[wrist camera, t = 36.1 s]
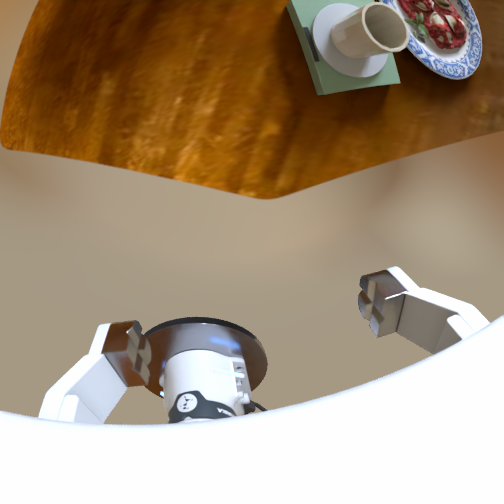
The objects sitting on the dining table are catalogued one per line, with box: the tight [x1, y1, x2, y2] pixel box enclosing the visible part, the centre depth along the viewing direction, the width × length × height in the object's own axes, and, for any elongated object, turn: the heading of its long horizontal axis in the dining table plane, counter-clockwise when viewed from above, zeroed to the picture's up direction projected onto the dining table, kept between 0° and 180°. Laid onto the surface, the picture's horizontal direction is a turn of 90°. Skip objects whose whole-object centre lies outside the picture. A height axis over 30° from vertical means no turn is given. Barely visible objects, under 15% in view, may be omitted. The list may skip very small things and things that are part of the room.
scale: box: [286, 0, 400, 95], centre depth 28 cm, size 14×13×3 cm
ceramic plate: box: [379, 0, 482, 80], centre depth 24 cm, size 26×26×3 cm
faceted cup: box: [331, 2, 409, 59], centre depth 23 cm, size 6×6×8 cm
